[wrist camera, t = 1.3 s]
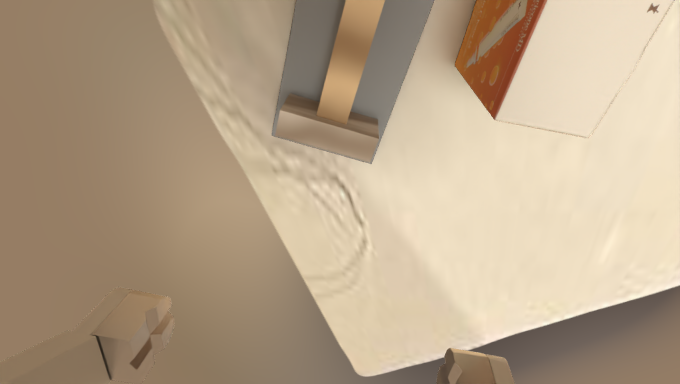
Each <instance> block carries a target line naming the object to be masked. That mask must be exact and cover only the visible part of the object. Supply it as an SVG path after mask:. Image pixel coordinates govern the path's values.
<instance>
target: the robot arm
mask: <svg viewBox="0 0 680 384" xmlns="http://www.w3.org/2000/svg"><path fill="white" fill-rule="evenodd" d="M171 306H172V304H171V300H170V297H165V296H161V295H156V294H152V293H147V292H142V291H137V290H132V289H127V288H122V287H117V288H115V289H113V290H111V291H110V292H109V293H108V294H107V295H106V297H105V298H104V299H103V300H102V301H101V302H100V303H99V304H98V305H97V306H96V307H95V308H94V309H93V310H92V311H91V312H90V313H89V314H88V315H87V316H86V317H85V318H84V319H83V320H82V321H81V322H80V323H79V324H78V325H77V326H76V328H75V329H73V331H64V332H62V333H60V334H58V335H56V336H54V337H52V338H50V339H48V340H45V341H43V342H41V343H39V344H37V345H35V346H33V347H31V348H29V349H27V350H24V351H22V352H20V353H18V354H16V355H14V356H12V357H10V358H7V359H5V360H3V361H1V362H0V384H109V383H110V380H112V381H118V382H124V383H131V384H142V382H143V381H144V379H145V378H146V376H147V375H148V373H149V372H150V370H151V369H152V367H153V366H154V364H155V358H154V355H155V354H157V353H159V352H160V351H162V350H163V349H165V347H166V345H167V344H168V342H169V340H170V338H171V335H172V332H173V330H174V329H173V328H174V317H173V315H172V314H171V313H170V312H169V311H168V310H169V309H170V308H171ZM436 384H515V383H514V380H513V377H512V374H511V371H510V368H509V365H508V362H507V361H506V360H505V358H503V357H498V356H492V355H487V354H483V353H477V352H471V351H466V350H460V349H454V348H449V349H448V350H447V351H446V354H445V364H443V365H441V366H440V368H439V371H438V374H437V382H436Z"/></svg>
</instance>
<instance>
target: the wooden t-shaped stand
mask: <svg viewBox="0 0 680 384" xmlns="http://www.w3.org/2000/svg"><path fill="white" fill-rule="evenodd" d="M384 2H385V0H346V1H345V5H344V9H343V13H342V17H341V21H340V25H339V29H338V33H337V37H336V40H335V44H334V48H333V52H332V56H331V60H330V64H329V68H328V72H327V76H326V80H325V83H324V87H323V91H322V95H321V99H320V102H318V101H314V100H311V99H307V98H304V97H301V96H297V95H294V94H291V93H290V94H289V96H288V97H287V99H286V101H285V103H284V104H283V106H282V108H281V109H280V113H279V118H278V123H277V129H276V134H275V136H279V137H282V138H286V139H289V140H293V141H296V142H300V143H303V144H307V145H310V146H314V147H317V148H321V149H324V150H328V151H332V152H335V153H339V154H342V155H346V156H349V157H353V158H356V159H360V160H363V161H367V162H370V161H371V159H372V156H373V153H374V151H375V148H376V145H377V143H378V140H379V129H378V119H375V118H371V117H368V116H365V115H361V114H358V113H354V112H351V108H352V104H353V101H354V98H355V95H356V92H357V88H358V85H359V82H360V79H361V76H362V72H363V69H364V66H365V63H366V60H367V56H368V53H369V50H370V47H371V44H372V40H373V37H374V34H375V31H376V28H377V24H378V21H379V18H380V15H381V12H382V8H383V5H384Z"/></svg>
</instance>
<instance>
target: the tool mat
mask: <svg viewBox="0 0 680 384" xmlns="http://www.w3.org/2000/svg"><path fill="white" fill-rule="evenodd" d="M345 1H346V0H296V6H295V11H294V17H293V22H292V27H291V33H290V38H289V44H288V49H287V54H286V60H285V65H284V71H283V76H282V82H281V87H280V92H279V98H278V103H277V109H276V114H275V119H274V125H273V130H272V136H275V134H276V129H277V123H278V118H279V113H280V109H281V108H282V106H283V104H284V103H285V101H286V99H287V97H288V96H289V94H290V93H291V94H294V95H297V96H301V97H304V98H307V99H311V100H314V101H318V102H320V99H321V95H322V91H323V87H324V83H325V80H326V76H327V72H328V68H329V64H330V60H331V56H332V52H333V48H334V44H335V40H336V37H337V33H338V29H339V25H340V21H341V17H342V13H343V9H344V5H345ZM433 3H434V0H385V2H384V5H383V8H382V12H381V15H380V18H379V21H378V24H377V28H376V31H375V34H374V37H373V40H372V44H371V47H370V50H369V53H368V56H367V60H366V63H365V66H364V69H363V72H362V76H361V79H360V82H359V85H358V88H357V92H356V95H355V98H354V101H353V104H352V108H351V112H354V113H358V114H361V115H365V116H368V117H371V118H375V119H378V129H379V140H378V143H377V145H376V148H375V151H374V153H373V156H372V159H371V161H370V162H367V161H363V160H360V159H356V158H353V157H349V156H346V155H342V154H339V153H335V152H332V151H328V150H324V149H321V148H317V147H314V146H310V145H307V144H303V143H300V142H296V141H293V140H289V139H286V138H282V137H279V136H275V137H278V138H282V139H285V140H289V141H292V142H296V143H299V144H303V145H306V146H310V147H313V148H317V149H320V150H324V151H327V152H331V153H334V154H338V155H341V156H345V157H348V158H352V159H355V160H359V161H362V162H366V163H369V164H372V161H373V159H374V156H375V154H376V151H377V148H378V146H379V143H380V141H381V138H382V135H383V133H384V130H385V128H386V125H387V122H388V120H389V117H390V115H391V112H392V109H393V107H394V104H395V102H396V99H397V96H398V94H399V91H400V89H401V86H402V83H403V81H404V78H405V76H406V73H407V70H408V68H409V65H410V63H411V60H412V57H413V55H414V52H415V50H416V47H417V44H418V42H419V39H420V37H421V34H422V31H423V29H424V26H425V24H426V21H427V18H428V16H429V13H430V11H431V8H432V5H433Z"/></svg>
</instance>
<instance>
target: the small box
mask: <svg viewBox="0 0 680 384" xmlns="http://www.w3.org/2000/svg"><path fill="white" fill-rule="evenodd" d="M674 1H675V0H476V3H475V6H474V9H473V12H472V16H471V19H470V22H469V25H468V28H467V31H466V34H465V37H464V39H463V42H462V45H461V48H460V51H459V54H458V57H457V60H456V63H455V67H456V68H457V70H458V71H459V72H460V74H461V75H462V76H463V78H464V79H465V81H466V82H467V83H468V85H469V86H470V87H471V89H472V90H473V91H474V93H475V94H476V95H477V97H478V98H479V100H480V101H481V102H482V104H483V105H484V106H485V108H486V109H487V110H488V112H489V113H490V114H491V116H492V117H493V119H494V120H496V121H501V122H506V123H512V124H517V125H522V126H527V127H532V128H537V129H543V130H548V131H553V132H558V133H563V134H569V135H574V136H579V137H584V138H589V137H590V136H591V135H592V134H593V132H594V130H595V129H596V128H597V126H598V125H599V123H600V121H601V120H602V118H603V117H604V115H605V114H606V112H607V110H608V109H609V107H610V106H611V104H612V102H613V101H614V99H615V98H616V96H617V95H618V93H619V92H620V90H621V89H622V87H623V86H624V84H625V83H626V82H627V80H628V79H629V77H630V76H631V74H632V72H633V71H634V69H635V68H636V66H637V64H638V62H639V60H640V58H641V57H642V55H643V53H644V51H645V49H646V47H647V45H648V44H649V42H650V41H651V39H652V37H653V36H654V34H655V32H656V31H657V29H658V27H659V26H660V24H661V22H662V21H663V19H664V17H665V16H666V14H667V12H668V11H669V9H670V7H671V6H672V4H673V3H674Z"/></svg>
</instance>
